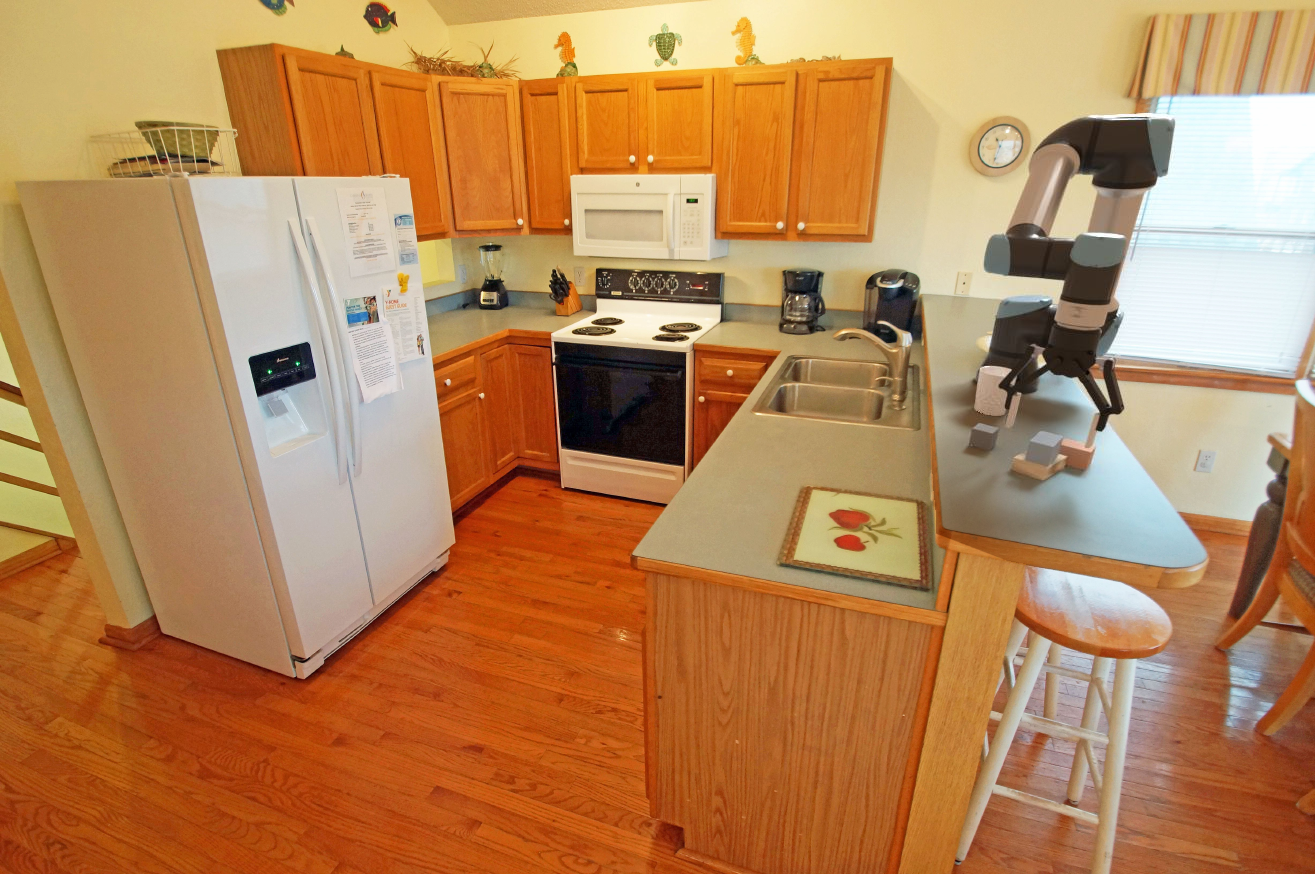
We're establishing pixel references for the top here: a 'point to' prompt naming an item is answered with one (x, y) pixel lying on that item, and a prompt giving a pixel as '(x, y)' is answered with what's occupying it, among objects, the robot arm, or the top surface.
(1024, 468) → the maple block
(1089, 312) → the robot arm
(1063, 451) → the terracotta block
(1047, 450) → the blue block
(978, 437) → the charcoal block
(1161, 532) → the top surface
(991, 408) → the white cup
